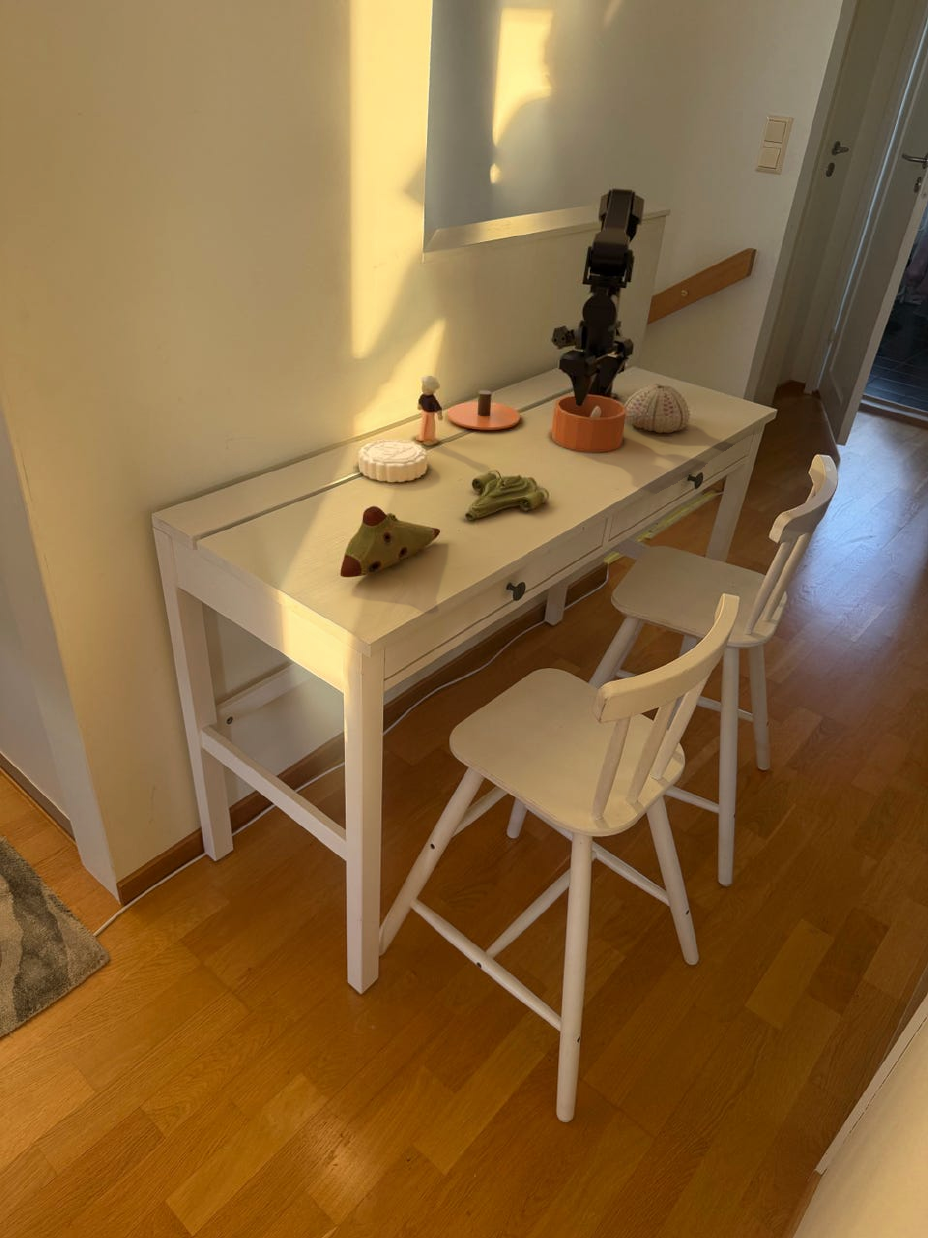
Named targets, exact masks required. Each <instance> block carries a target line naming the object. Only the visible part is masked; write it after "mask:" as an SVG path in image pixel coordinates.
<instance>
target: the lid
mask: <svg viewBox="0 0 928 1238" xmlns="http://www.w3.org/2000/svg"><path fill="white" fill-rule="evenodd" d="M492 393H493V392H492V391H491V390H487V389H482V390H478V394H477V395H478V397H477V401H466V402H462V403H458V404H455V405H452V406H451V407H450V408H449V409H448V411H447V418H448V420H449V421H451V422H452V423H453V424H455V425H458V426H460V427H464V428H468V429H474V430H485V431H492V430H495V431H496V430H502V429H507V428H511V427H513V426H516V425H517V424H518V423H519V422H520V421H521V415H520V412H519V411H517V410H516V409H515V408H513V407H511V406H509V405H506V404H502V403H498V402H492V396H493V395H492Z"/></svg>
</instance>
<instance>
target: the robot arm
mask: <svg viewBox="0 0 928 1238" xmlns="http://www.w3.org/2000/svg"><path fill="white" fill-rule="evenodd" d="M644 211H645V199H644V198H642V197H641V196H639V195H638V194H637V191H636V190H633V189H629V188H628V189H627V188H616V187H615V188H614V187H613V188H609V189H608V193H605V194H604V195H601V196H600V202H599V208H598V215H597V216H598V217H597V218H598V222H600V223H601V224H600V225H601V226H600V231H599V232H597V233H595V235H594V236H593V240H592V244H591V245H588V246H587V251H586V257H585V264H584V271H583V275H582V283H581V284H582V285H585V286H588V294H587V297H586V298H585V301H584V304H583V306H582V309H581V316H582V319H581V320H580V321H579V323H578V325H574V326H570V327H567V326H566V325H561V326H557V327H554V328H553V330H552V333H551V336H552V337H551V338H550V342H551V343H552V344H553V346H555V347H556V350H562V349H564V348H570V347H574V349H571V350H569V351H567V352H564V353H563V354H561V356H559V357H558V359H557V360H558V361H557V369H558V370H560V371H561V372H562V373H564V374H566V375H567V376H568V378H569V379H570V382H571V385H572V390H573V395H575V400H576V404H577V405H578V406H582V405H583V403H584V401H585V399H586V397H587V395H588V394H589V395H598V396H604V397H607V398H611V399H615V398H617V397H618V395H619V394H618V393H616V392H613V387H614V381H615V380H616V379H617V376H618V375H621V373H624V372H625V370H626V369H625V368H626V362H627V361H628V360H629V359H630V356H632V355H633V352H634V347H635V344H634V342H633V340H632V339H631V338H628V337H625V336H623V333H622V330H621V327H622V321H621V320H618V318H619V309H620V304H621V303H620V302H621V297H622V296H621V295H622V289H627V286H628V283H632V276H633V271H634V265H635V259H636V257H635V255H634V250H633V249H631V248H630V244H631V242H632V241H633V240H634V238H635V237H636V235H637V234H638V229H639V226H641V225H643V219H644Z"/></svg>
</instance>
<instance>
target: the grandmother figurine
mask: <svg viewBox="0 0 928 1238" xmlns="http://www.w3.org/2000/svg"><path fill="white" fill-rule="evenodd" d="M421 383H422V385H421V392H422V393H421V395H420V396H419V398H418V402H417V407H416V409H417V410H418V411H421V420H420V426H419V434H417V435H416V436H415V440H416V441H419V442H422V443H423V445H425V446H433V445H436V444H437V443H438V440H437V439H436V418H437V420H438V421H443V420H444V416H443V408H442V405H441V404H440V402H439V401H438V399H437V398H436V396H435V393H436V391H437V390H438V389H439V388H440V387H441V385H440V383H439V381H438V380H437V378H436V377H435V376H432V375H429V374H425V375H424V376H422V378H421ZM435 416H437V417H435Z"/></svg>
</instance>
